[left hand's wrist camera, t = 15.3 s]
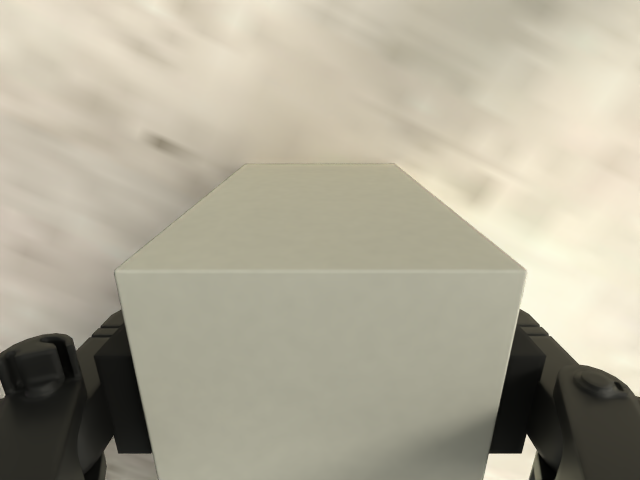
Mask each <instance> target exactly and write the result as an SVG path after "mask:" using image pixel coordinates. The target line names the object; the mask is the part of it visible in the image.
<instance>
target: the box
mask: <svg viewBox="0 0 640 480" xmlns="http://www.w3.org/2000/svg"><path fill="white" fill-rule="evenodd" d="M114 276H115V280H116V285H117V290H118V294H119V299H120V304H121V308H122V313H123V318H124V322H125V327H126V332H127V336H128V341H129V346H130V350H131V355H132V360H133V364H134V369H135V374H136V378H137V383H138V388H139V392H140V397H141V402H142V406H143V411H144V416H145V420H146V425H147V430H148V434H149V439H150V444H151V448H152V453H153V457H154V462H155V467H156V471H157V476H158V480H483V478H484V473H485V468H486V464H487V459H488V454H489V450H490V445H491V440H492V436H493V431H494V426H495V422H496V417H497V412H498V408H499V403H500V398H501V394H502V389H503V385H504V380H505V375H506V371H507V366H508V361H509V357H510V352H511V347H512V343H513V338H514V333H515V329H516V324H517V319H518V315H519V310H520V305H521V301H522V296H523V291H524V287H525V282H526V277H527V270H526V269H525V268H524V267H523V266H521V265H520V264H519V263H518V262H516V261H515V260H514V259H513V258H511V257H510V256H509V255H508V254H506V253H505V252H504V251H503V250H502V249H500V248H499V247H498V246H497V245H495V244H494V243H493V242H492V241H490V240H489V239H488V238H487V237H485V236H484V235H483V234H482V233H480V232H479V231H478V230H477V229H475V228H474V227H473V226H472V225H470V224H469V223H468V222H467V221H465V220H464V219H463V218H462V217H460V216H459V215H458V214H457V213H455V212H454V211H453V210H452V209H451V208H449V207H448V206H447V205H446V204H444V203H443V202H442V201H441V200H439V199H438V198H437V197H436V196H434V195H433V194H432V193H431V192H429V191H428V190H427V189H426V188H424V187H423V186H422V185H421V184H419V183H418V182H417V181H416V180H414V179H413V178H412V177H411V176H409V175H408V174H407V173H406V172H405V171H403V170H402V169H401V168H400V167H398V166H397V165H396V164H245V165H244V166H242V167H241V168H240V169H239V170H237V171H236V172H235V173H234V174H232V175H231V176H230V177H229V178H228V179H226V180H225V181H224V182H223V183H221V184H220V185H219V186H218V187H216V188H215V189H214V190H213V191H211V192H210V193H209V194H208V195H207V196H205V197H204V198H203V199H202V200H200V201H199V202H198V203H197V204H195V205H194V206H193V207H192V208H191V209H189V210H188V211H187V212H186V213H184V214H183V215H182V216H181V217H179V218H178V219H177V220H176V221H174V222H173V223H172V224H171V225H170V226H168V227H167V228H166V229H165V230H163V231H162V232H161V233H160V234H158V235H157V236H156V237H155V238H154V239H152V240H151V241H150V242H149V243H147V244H146V245H145V246H144V247H142V248H141V249H140V250H139V251H138V252H136V253H135V254H134V255H133V256H131V257H130V258H129V259H128V260H126V261H125V262H124V263H123V264H121V265H120V266H119V267H118V268H117V269H115V271H114Z"/></svg>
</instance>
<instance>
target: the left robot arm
mask: <svg viewBox="0 0 640 480" xmlns="http://www.w3.org/2000/svg"><path fill="white" fill-rule="evenodd" d="M0 381H1V383H2V386H3V389H4V391H5V394H6V396H5V398H2V399H0V480H105V475H106V467H107V466H106V459H105V455H104V452H103V451H104V450H105V448H106V446H107V445H108V443H109V442H110V440H111V438H112V437H113V435H114V438H115V442H116V446H117V450H118V453H152V448H151V444H150V439H149V434H148V430H147V425H146V420H145V416H144V411H143V406H142V402H141V397H140V392H139V388H138V383H137V378H136V374H135V369H134V364H133V360H132V355H131V350H130V346H129V341H128V336H127V332H126V327H125V322H124V318H123V313H122V309H121V310H120V311H118V312H116V313H115V314H113V315H111V316H110V317H109V318H108V319H107V320H106V321H105V322H104V323H103V324H102V325H101V328H98V329H97V330H96V331H95V332H94V333H93V334H92V337H91V338H89V339H88V340H87V341H86V342H85V343H84V344H83V345H82V346H81V347H80V348H79V349H78V350H77V351H76V350H75V346H74V342H73V339H72V338H71V337H69V336H68V335H66V334H58V333H54V334H45V335H40V336H36V337H33V338H29V339H26V340H24V341H22V342H19V343H17V344H15V345H13V346H11V347H9V348H8V349H6V350H5V351H3V352H2V353H0ZM526 434H527V435H528V436H529V438H530V440H531V441H532V443H533V444H534V446H535V448H536V449H537V452H536V455H535V459H534V463H533V466H532V470H531V474H530V477H529V480H640V397H637V396H635V395H634V393H633V392H632V391H631V390H630V388H629V387H628V386H627V385H626V384H624V383H623V382H622V381H620V380H619V379H618V378H616V377H615V376H613V375H611V374H609V373H607V372H605V371H602V370H600V369H596V368H593V367H590V366H585V365H579V364H578V363H577V362H576V361H575V360H574V359H573V358H572V357H571V356H570V355H569V354H568V353H567V352H566V351H565V350H564V349H563V348H562V347H561V346H560V345H559V344H558V343H557V342H556V341H555V340H554V339H553V338H552V337H551V336H549V334H548V333H547V332H546V331H545V330H544V329H543V328H542V327H540V325H539V324H538V323H537V322H536V321H535V320H534V319H533V318H532V317H531V316H530V315H529V314H528V313H526V312H524V311H523V310H521V309H520V310H519V315H518V319H517V324H516V329H515V333H514V338H513V343H512V347H511V352H510V357H509V361H508V366H507V371H506V375H505V380H504V385H503V389H502V394H501V398H500V403H499V408H498V412H497V417H496V422H495V426H494V431H493V436H492V440H491V445H490V450H489V453H522V450H523V446H524V442H525V438H526Z"/></svg>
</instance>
